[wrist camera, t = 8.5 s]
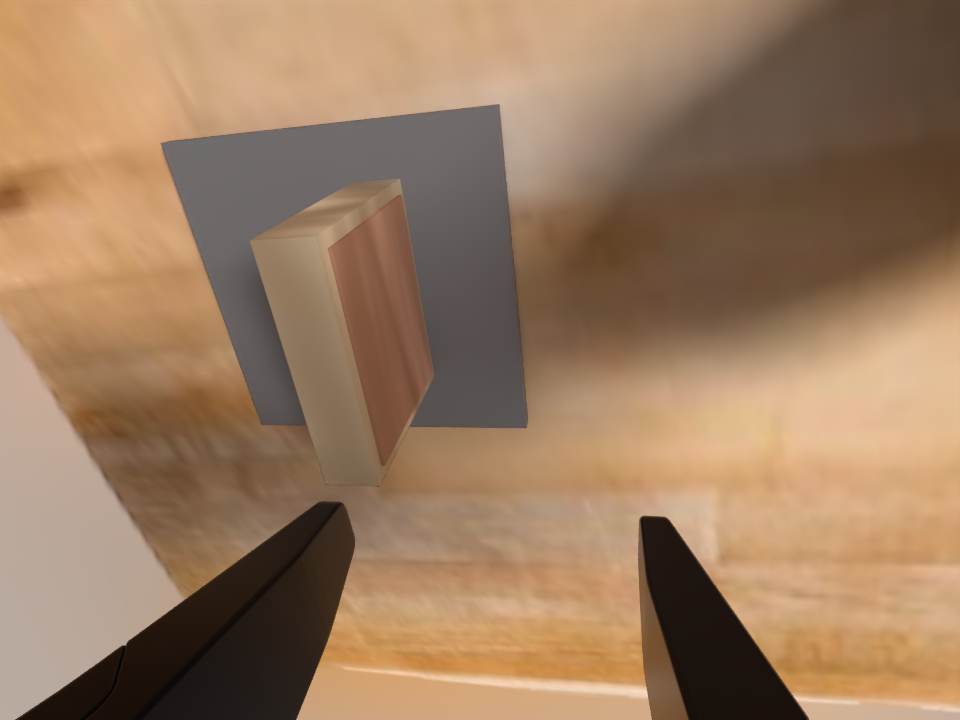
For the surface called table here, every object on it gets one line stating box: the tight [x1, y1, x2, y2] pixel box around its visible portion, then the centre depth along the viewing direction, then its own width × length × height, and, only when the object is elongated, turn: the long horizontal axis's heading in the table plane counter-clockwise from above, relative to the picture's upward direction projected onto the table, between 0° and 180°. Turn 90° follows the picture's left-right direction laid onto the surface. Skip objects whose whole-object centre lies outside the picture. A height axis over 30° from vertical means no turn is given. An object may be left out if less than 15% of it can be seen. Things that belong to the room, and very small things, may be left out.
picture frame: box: [250, 179, 434, 487], centre depth 17 cm, size 2×7×6 cm, turn 7°
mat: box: [161, 104, 528, 428], centre depth 20 cm, size 11×11×1 cm
